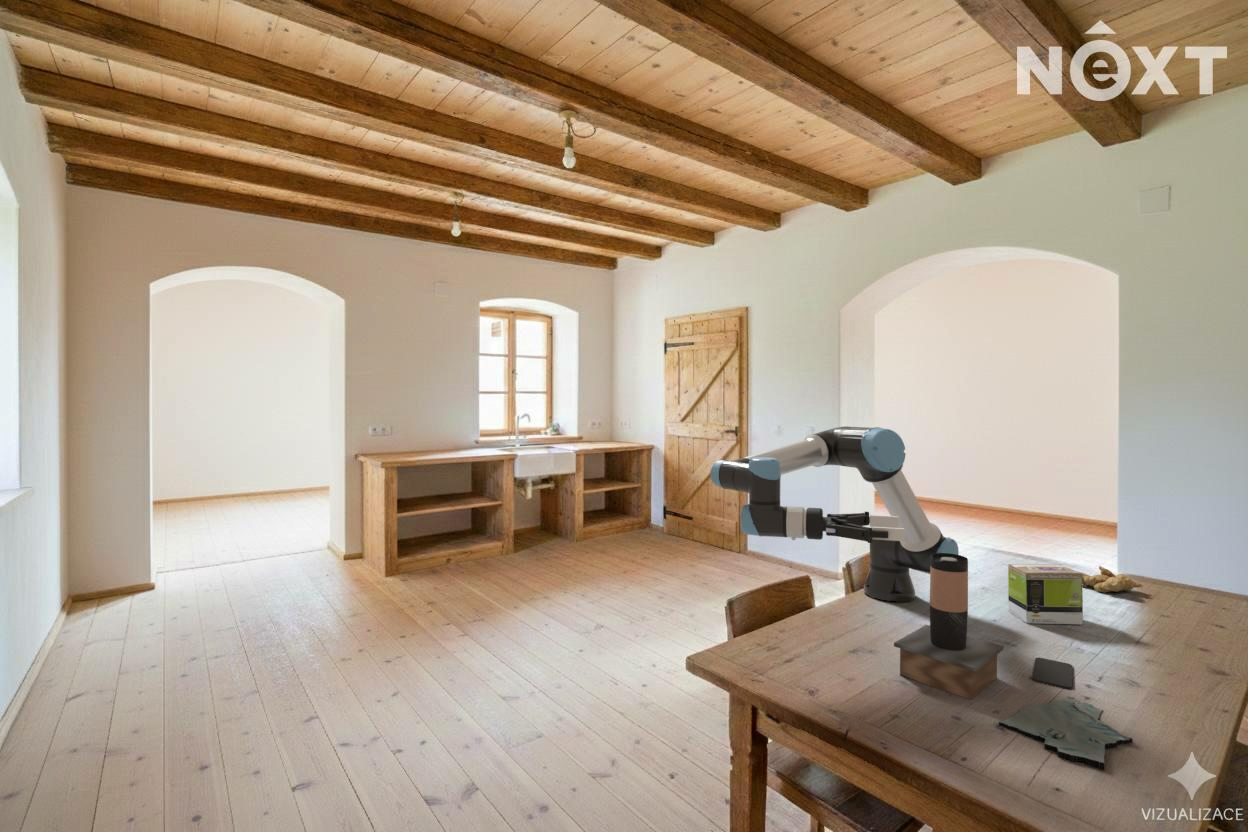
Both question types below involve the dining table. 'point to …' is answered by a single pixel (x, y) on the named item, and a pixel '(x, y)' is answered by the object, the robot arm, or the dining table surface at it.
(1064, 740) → the decorative slab
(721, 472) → the robot arm
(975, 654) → the podium
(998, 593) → the dining table surface
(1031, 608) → the tea box
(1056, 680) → the phone
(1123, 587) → the ginger root
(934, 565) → the travel mug
